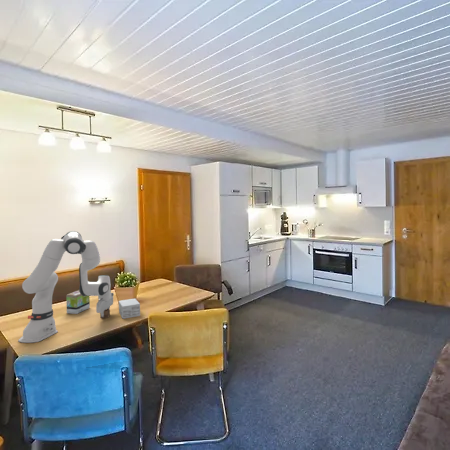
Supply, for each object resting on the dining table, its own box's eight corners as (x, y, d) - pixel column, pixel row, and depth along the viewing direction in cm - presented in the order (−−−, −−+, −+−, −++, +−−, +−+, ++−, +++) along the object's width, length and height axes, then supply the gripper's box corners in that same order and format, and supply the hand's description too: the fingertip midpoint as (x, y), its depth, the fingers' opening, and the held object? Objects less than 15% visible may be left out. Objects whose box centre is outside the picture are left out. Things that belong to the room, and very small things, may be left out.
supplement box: (140, 316, 224) (140, 303, 224) (122, 319, 218) (122, 306, 217) (135, 309, 239) (135, 297, 238) (118, 312, 233) (118, 300, 232)
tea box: (77, 314, 229) (77, 295, 228) (66, 313, 231) (65, 294, 230) (90, 307, 244) (89, 289, 243) (79, 307, 246) (78, 289, 245)
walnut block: (107, 318, 220) (106, 311, 220) (100, 318, 220) (100, 311, 220) (110, 315, 225) (109, 309, 225) (103, 315, 225) (103, 309, 225)
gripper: (102, 300, 211) (102, 319, 212) (114, 292, 232) (115, 310, 232) (93, 300, 212) (94, 319, 212) (106, 292, 232) (107, 309, 233)
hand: (105, 314), depth 222 cm, fingers open, 6 cm apart
